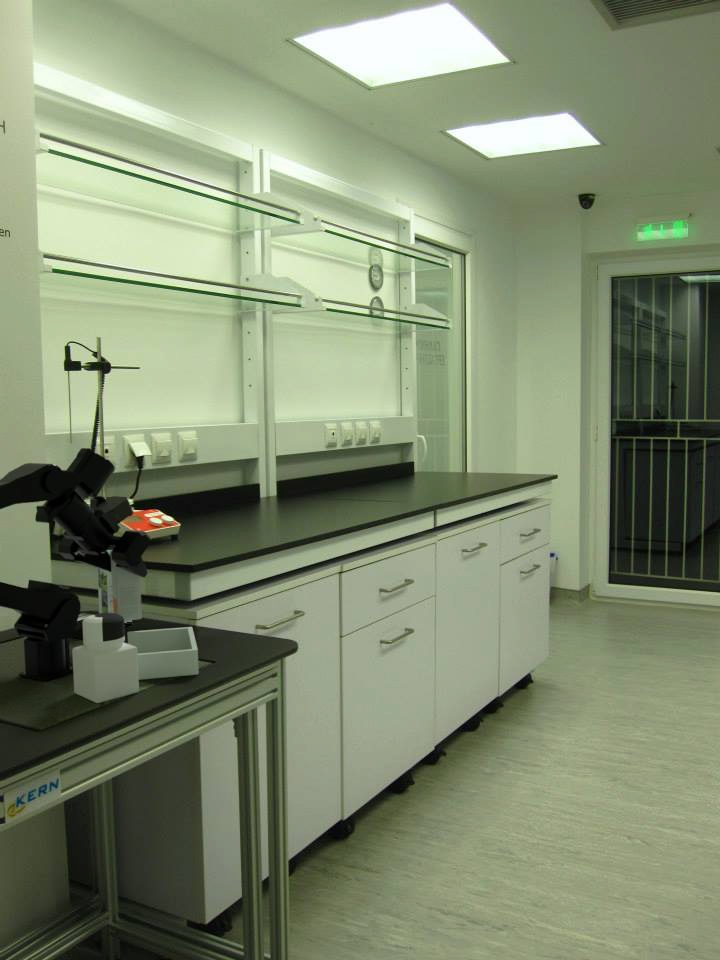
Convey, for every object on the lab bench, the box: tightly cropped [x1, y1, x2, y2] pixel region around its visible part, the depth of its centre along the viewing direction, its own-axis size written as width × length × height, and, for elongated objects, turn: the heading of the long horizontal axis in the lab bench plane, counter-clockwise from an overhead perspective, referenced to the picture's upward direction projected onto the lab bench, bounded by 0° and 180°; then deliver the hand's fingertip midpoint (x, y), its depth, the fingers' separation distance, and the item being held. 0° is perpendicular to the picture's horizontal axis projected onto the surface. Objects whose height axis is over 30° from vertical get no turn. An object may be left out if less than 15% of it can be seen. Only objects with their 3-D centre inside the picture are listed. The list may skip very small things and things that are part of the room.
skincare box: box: [110, 550, 143, 621], centre depth 159 cm, size 6×4×12 cm
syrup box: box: [97, 549, 133, 623], centre depth 179 cm, size 6×6×14 cm
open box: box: [127, 626, 200, 681], centre depth 151 cm, size 11×16×4 cm
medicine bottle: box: [71, 612, 140, 704], centre depth 136 cm, size 7×7×12 cm
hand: (131, 573), depth 160 cm, fingers closed on skincare box, 7 cm apart
